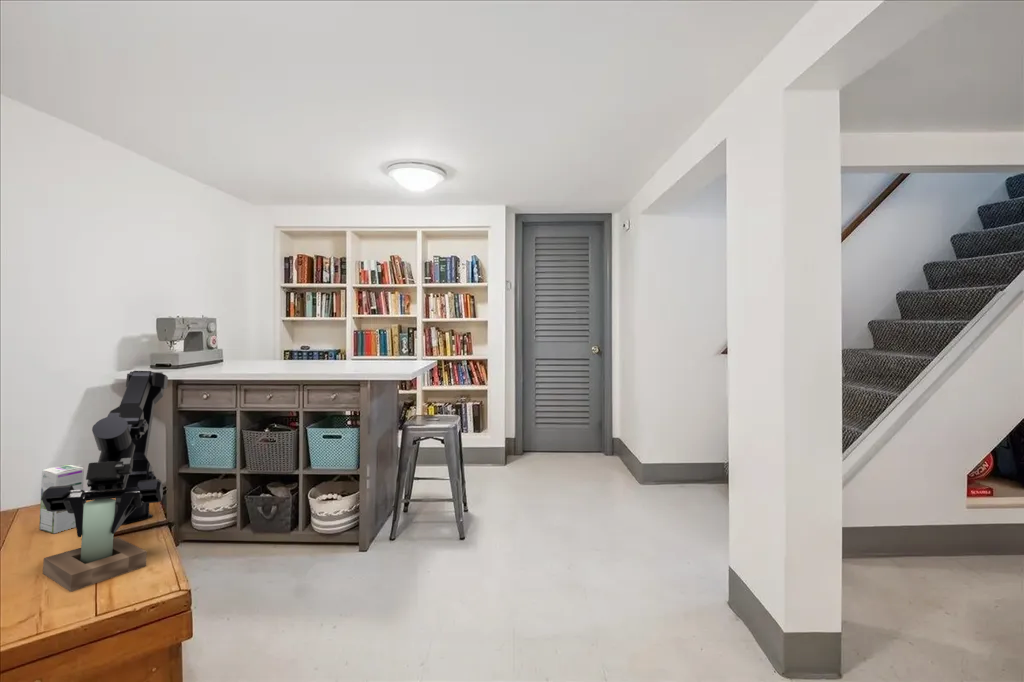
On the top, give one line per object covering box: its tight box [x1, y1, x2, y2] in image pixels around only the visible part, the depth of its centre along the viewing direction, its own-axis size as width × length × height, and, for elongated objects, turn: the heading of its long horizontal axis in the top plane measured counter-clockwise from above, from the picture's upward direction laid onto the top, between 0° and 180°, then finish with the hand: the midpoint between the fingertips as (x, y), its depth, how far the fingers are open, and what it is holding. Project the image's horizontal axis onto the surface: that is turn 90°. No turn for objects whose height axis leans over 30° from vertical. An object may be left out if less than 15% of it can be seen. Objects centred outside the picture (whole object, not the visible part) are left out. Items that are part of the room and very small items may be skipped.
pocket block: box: [42, 536, 148, 593], centre depth 94 cm, size 12×12×4 cm
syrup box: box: [38, 464, 85, 534], centre depth 113 cm, size 6×6×14 cm
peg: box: [80, 498, 116, 564], centre depth 94 cm, size 5×5×12 cm
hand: (96, 534), depth 93 cm, fingers closed on peg, 5 cm apart
